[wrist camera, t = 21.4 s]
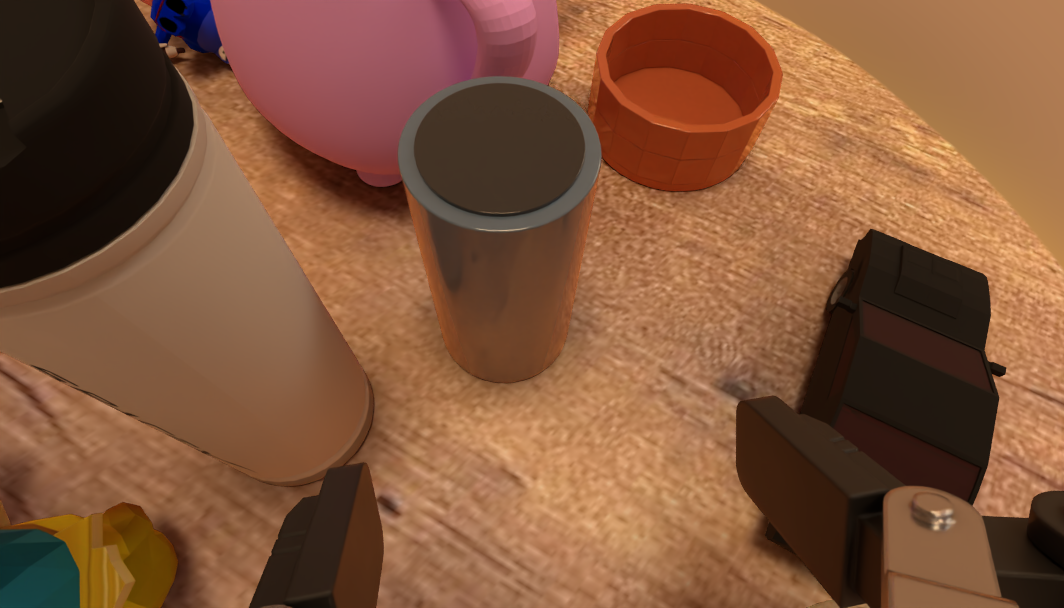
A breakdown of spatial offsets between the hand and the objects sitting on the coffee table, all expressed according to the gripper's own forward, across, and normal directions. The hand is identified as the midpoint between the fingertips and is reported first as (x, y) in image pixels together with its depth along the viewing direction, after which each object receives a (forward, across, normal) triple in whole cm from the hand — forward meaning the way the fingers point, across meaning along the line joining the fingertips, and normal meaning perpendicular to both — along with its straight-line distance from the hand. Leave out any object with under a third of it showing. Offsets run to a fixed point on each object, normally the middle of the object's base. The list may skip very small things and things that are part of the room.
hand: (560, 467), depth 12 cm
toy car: (+11, -15, +7) cm, 20 cm away
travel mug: (+14, +9, +4) cm, 17 cm away
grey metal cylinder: (+15, 0, +2) cm, 16 cm away
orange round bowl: (+23, -11, -6) cm, 27 cm away
